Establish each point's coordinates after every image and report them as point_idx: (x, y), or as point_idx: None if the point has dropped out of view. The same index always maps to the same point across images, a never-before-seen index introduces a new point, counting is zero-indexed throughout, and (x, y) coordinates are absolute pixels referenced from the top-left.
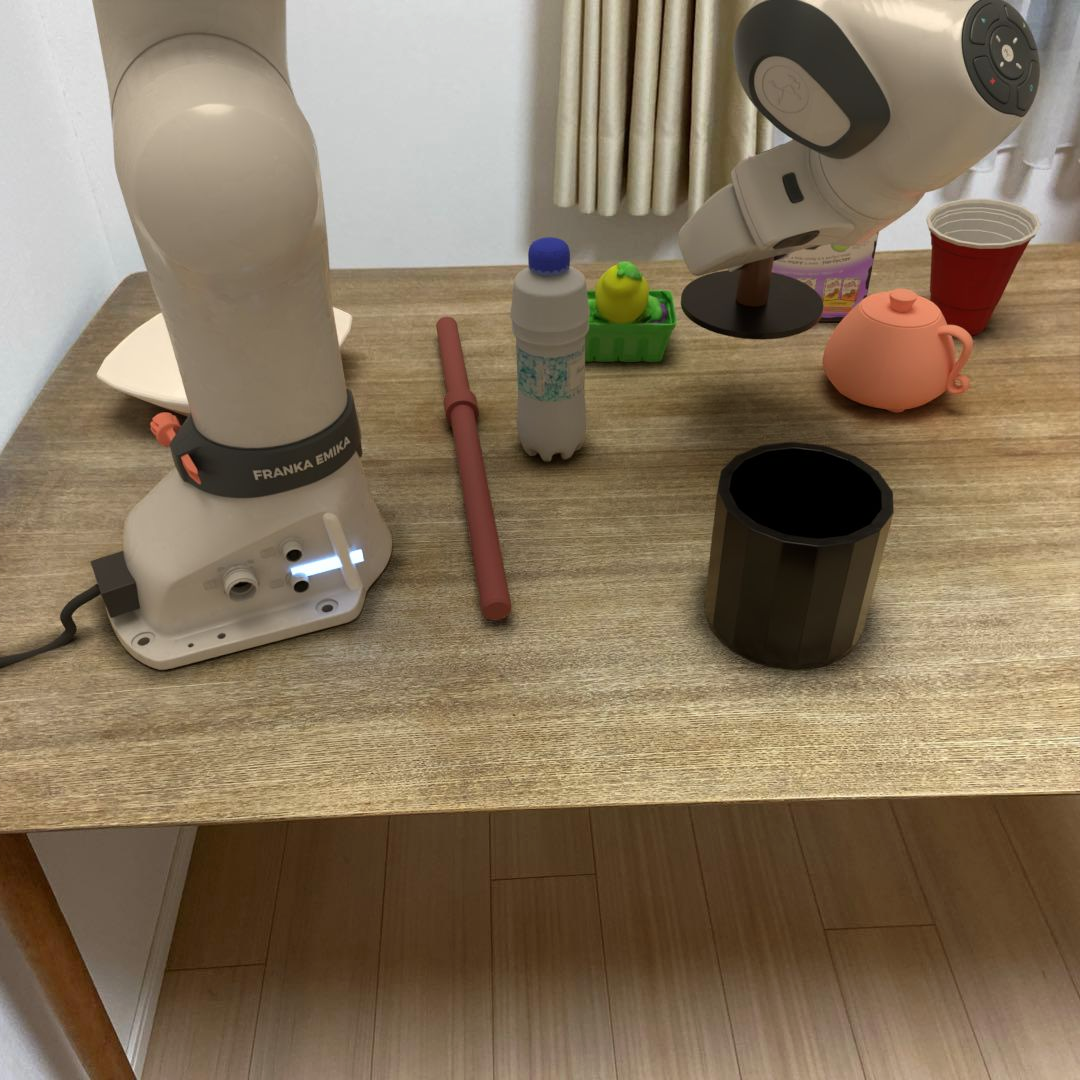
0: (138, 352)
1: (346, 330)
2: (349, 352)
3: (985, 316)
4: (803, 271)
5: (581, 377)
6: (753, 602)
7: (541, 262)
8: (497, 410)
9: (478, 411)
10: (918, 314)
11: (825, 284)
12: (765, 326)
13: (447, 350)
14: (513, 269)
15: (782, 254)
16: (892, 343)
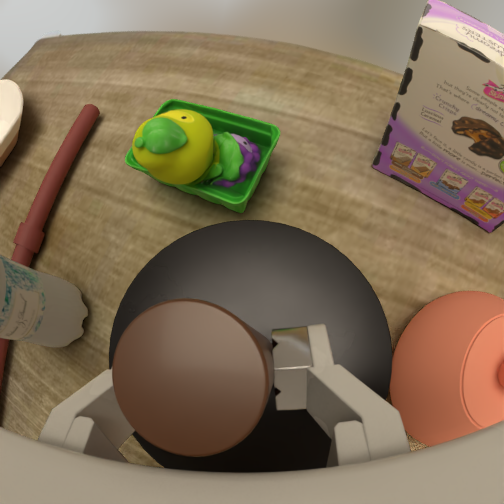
0: None
1: (4, 134)
2: (43, 123)
3: None
4: (457, 167)
5: (21, 333)
6: None
7: None
8: (63, 236)
9: (32, 250)
10: None
11: (474, 190)
12: (203, 465)
13: (56, 155)
14: (209, 37)
15: (288, 409)
16: (454, 430)
